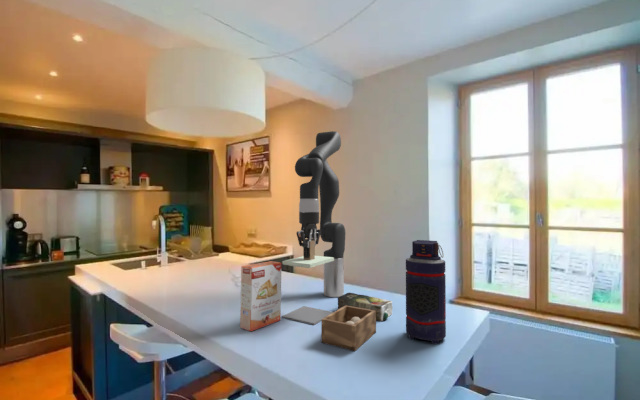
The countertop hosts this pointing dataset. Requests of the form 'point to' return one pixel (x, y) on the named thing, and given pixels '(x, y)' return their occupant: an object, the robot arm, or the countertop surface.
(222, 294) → the countertop surface
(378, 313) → the juice carton
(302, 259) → the lid
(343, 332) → the egg box
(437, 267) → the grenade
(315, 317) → the plate
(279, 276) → the cracker box
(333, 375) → the countertop surface
